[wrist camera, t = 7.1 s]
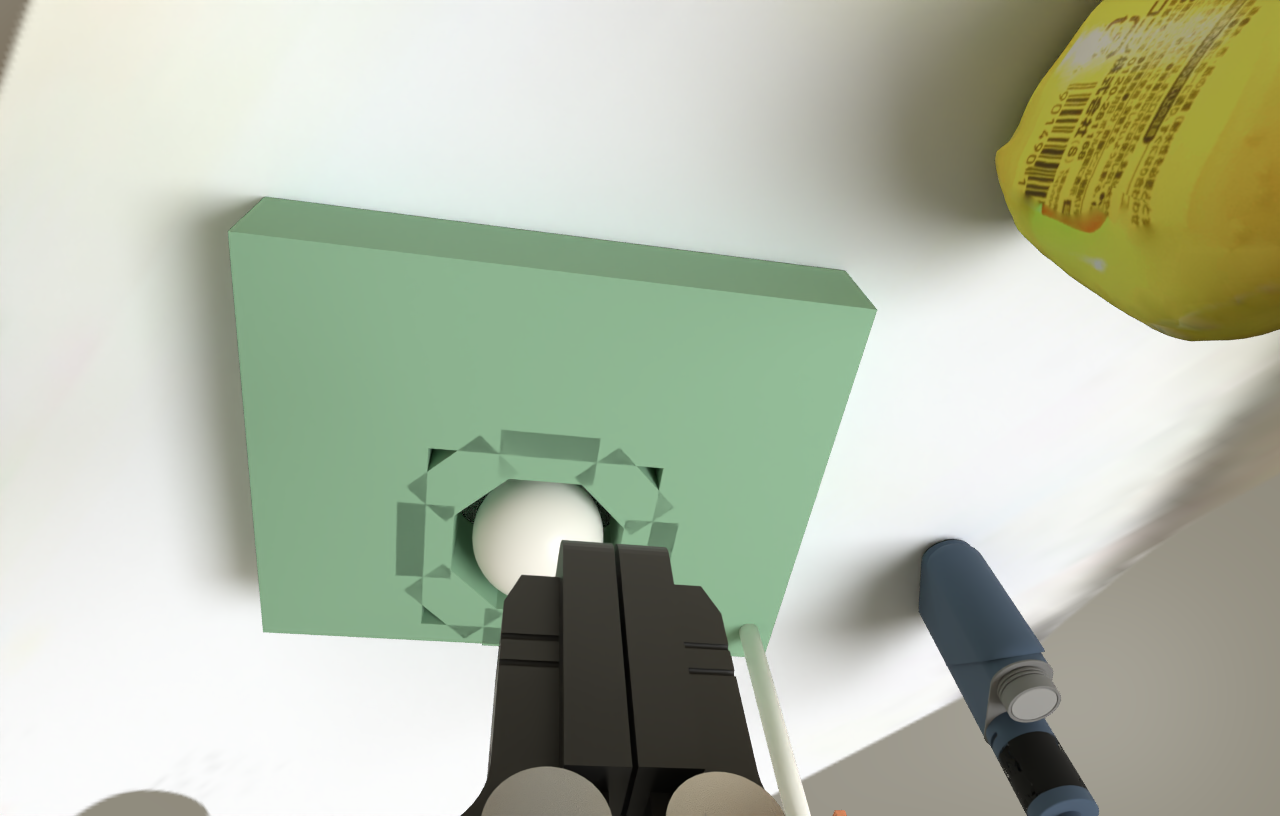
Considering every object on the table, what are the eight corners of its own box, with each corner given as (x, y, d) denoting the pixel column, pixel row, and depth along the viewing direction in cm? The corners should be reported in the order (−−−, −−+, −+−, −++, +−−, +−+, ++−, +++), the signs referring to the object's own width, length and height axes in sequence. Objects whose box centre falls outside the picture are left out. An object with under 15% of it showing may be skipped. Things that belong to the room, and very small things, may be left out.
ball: (470, 579, 34) (482, 458, 34) (590, 588, 35) (603, 469, 35) (461, 614, 29) (475, 472, 29) (602, 623, 30) (616, 485, 30)
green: (264, 196, 27) (-23, 465, 14) (845, 270, 30) (1073, 549, 17) (288, 572, 35) (121, 975, 21) (746, 601, 38) (848, 969, 25)
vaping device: (914, 623, 40) (1039, 871, 29) (919, 538, 37) (1059, 778, 27) (967, 615, 40) (1111, 859, 29) (976, 530, 37) (1138, 766, 27)
